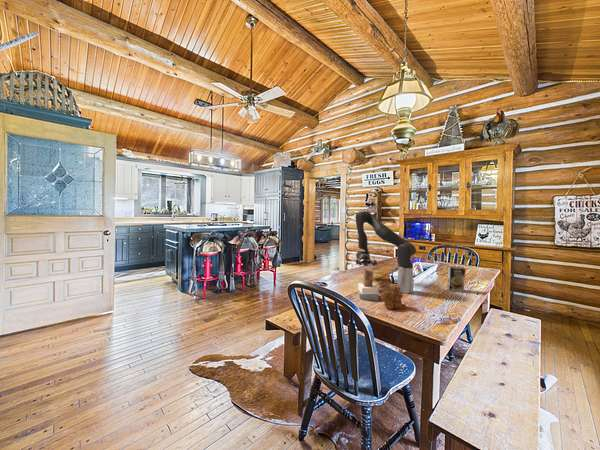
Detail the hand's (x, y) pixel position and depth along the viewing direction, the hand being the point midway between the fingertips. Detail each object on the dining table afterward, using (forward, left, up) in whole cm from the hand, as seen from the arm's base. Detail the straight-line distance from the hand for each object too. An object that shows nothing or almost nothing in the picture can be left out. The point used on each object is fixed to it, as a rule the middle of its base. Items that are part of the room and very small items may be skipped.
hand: (367, 264), depth 174 cm
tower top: (0, +11, -15) cm, 19 cm away
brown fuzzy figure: (-12, +25, -19) cm, 34 cm away
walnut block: (+1, +11, -11) cm, 16 cm away
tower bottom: (0, +11, -19) cm, 22 cm away
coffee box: (-62, -13, -19) cm, 66 cm away
